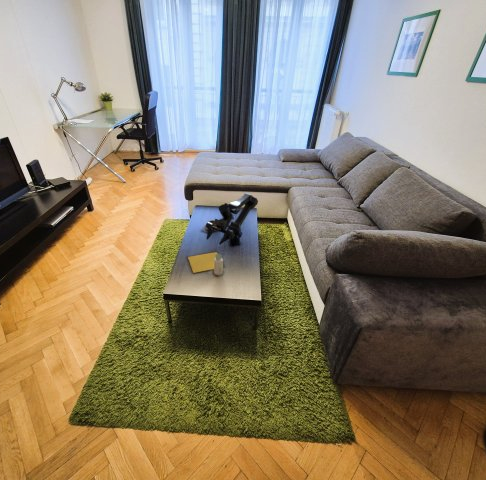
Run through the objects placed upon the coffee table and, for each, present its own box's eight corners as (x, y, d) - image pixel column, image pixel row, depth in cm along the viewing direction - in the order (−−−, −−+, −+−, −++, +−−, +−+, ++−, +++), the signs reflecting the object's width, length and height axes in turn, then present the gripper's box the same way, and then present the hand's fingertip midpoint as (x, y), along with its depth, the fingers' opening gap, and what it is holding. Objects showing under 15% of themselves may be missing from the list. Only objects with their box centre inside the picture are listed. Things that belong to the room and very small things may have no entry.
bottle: (221, 269, 159) (221, 252, 152) (223, 274, 155) (224, 257, 148) (213, 270, 158) (213, 254, 151) (215, 276, 154) (215, 259, 147)
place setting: (212, 221, 208) (212, 214, 204) (234, 228, 199) (235, 221, 196) (199, 230, 195) (199, 224, 192) (223, 238, 187) (223, 231, 183)
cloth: (216, 252, 173) (216, 251, 173) (223, 267, 161) (223, 266, 161) (187, 257, 168) (187, 257, 168) (193, 273, 156) (193, 272, 155)
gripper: (209, 209, 159) (195, 230, 155) (235, 218, 151) (222, 240, 146) (214, 219, 169) (202, 239, 164) (239, 228, 160) (227, 249, 156)
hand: (212, 241), depth 157 cm, fingers open, 9 cm apart
